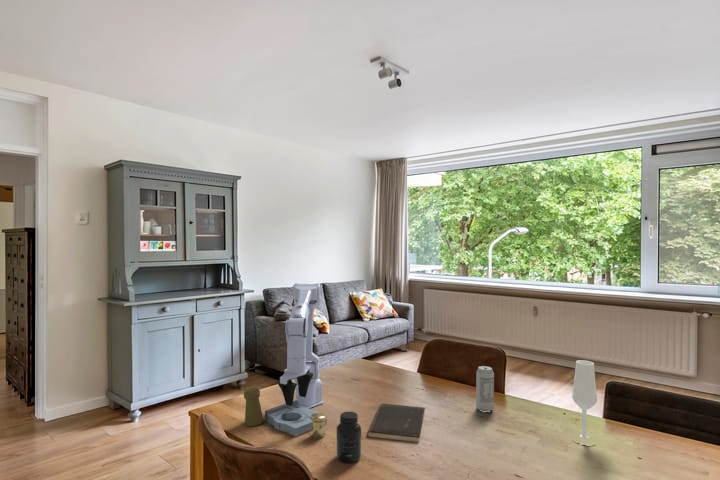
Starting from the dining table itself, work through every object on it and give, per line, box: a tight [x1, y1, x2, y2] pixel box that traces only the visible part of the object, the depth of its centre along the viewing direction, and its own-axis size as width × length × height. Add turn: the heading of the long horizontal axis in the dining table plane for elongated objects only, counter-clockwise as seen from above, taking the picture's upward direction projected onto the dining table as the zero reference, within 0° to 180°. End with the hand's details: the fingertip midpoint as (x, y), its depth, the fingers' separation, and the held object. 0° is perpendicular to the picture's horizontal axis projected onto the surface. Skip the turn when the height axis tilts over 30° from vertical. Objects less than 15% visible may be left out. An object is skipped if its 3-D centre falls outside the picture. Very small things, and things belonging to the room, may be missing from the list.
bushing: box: [311, 412, 328, 440], centre depth 133 cm, size 5×5×6 cm
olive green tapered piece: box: [243, 386, 265, 427], centre depth 141 cm, size 6×6×11 cm
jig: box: [264, 399, 328, 437], centre depth 142 cm, size 14×16×4 cm
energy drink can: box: [475, 365, 495, 411], centre depth 154 cm, size 6×6×15 cm
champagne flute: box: [571, 359, 598, 438], centre depth 131 cm, size 7×7×24 cm
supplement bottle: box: [336, 411, 362, 464], centre depth 120 cm, size 7×7×12 cm
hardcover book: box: [366, 403, 426, 443], centre depth 142 cm, size 16×23×2 cm
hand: (296, 400), depth 134 cm, fingers open, 7 cm apart
